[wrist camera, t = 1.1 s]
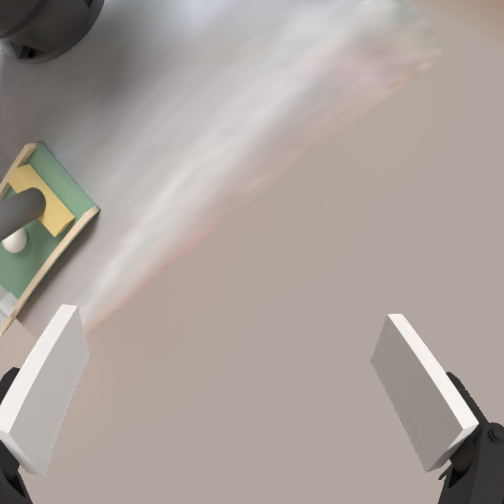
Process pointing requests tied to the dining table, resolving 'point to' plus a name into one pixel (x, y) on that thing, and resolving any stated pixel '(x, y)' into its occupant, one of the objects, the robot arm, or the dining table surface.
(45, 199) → the yellow block with handle
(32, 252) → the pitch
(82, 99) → the dining table surface
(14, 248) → the ball
